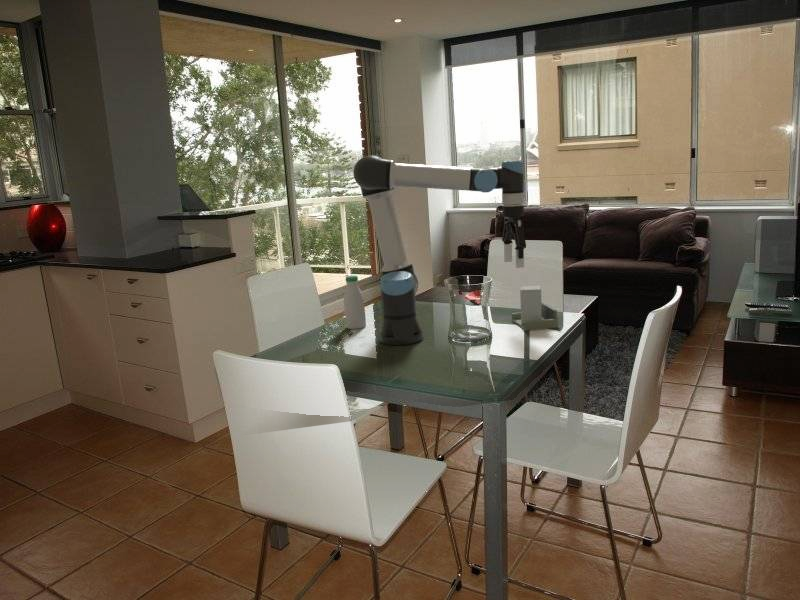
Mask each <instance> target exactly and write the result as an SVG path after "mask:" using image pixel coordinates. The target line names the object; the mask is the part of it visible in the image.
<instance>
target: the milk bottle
mask: <svg viewBox="0 0 800 600" xmlns="http://www.w3.org/2000/svg"><path fill="white" fill-rule="evenodd" d="M358 279H359V277H358V276H357V275H348V276H345V283H346V287H345V291H344V295H343V305H344V316H345V326H346V328H347V329H349V330H358V329H363V328H365V327H366V326H367V323H366V322H367V319H366V310H365V300H364V294H363V293H362V292H363V291H362V290H361V289H360V286H359V284H358V281H359V280H358Z"/></svg>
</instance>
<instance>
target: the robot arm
mask: <svg viewBox="0 0 800 600" xmlns="http://www.w3.org/2000/svg"><path fill="white" fill-rule="evenodd" d="M352 173H353V179H354V181H355V183H357V185H358V186H359V187H360V191H361V195H362V198H363V199H365V200H367V203H368V206H369V210H370V213H371V218H372V222H373V226H374V230H375V234H376V238H377V241H378V246H379V250H380V253H381V254H380V255H381V258H382V262H383V266H382V268H381V271H380V272H381V275H382V276H381V278H380V284H379V287H380V292H381V304H382V305H381V306H382V315H383V317H382V318H383V319H382V320H383V321H382V325H381V329H380V332H379V333H380V334H379V339H380V343H381V344H384V345H387V346H388V345H390V346H405V345H410V344H415V343H419V342H421V341H422V340H423V339H424V333H423V330H422V327H421V324H420V322H419V319H418V317H417V307H416V306H417V305H416V294H417V292H418V288H419V281H418V280H419V279H418V278H417V275H416V274H415V269H414V266H413V262H411V261H410V260H409V259H408V258H407V255H406V254H407V253H406V250H405V247H404V242H403V238H402V233H401V230H400V226H399V221H398V218H397V213H396V209H395V206H394V202H393V201H394V199H393V196H392V194H393V193H394V191H395V187H401V188H403V187H405V188H418V189H434V190H437V189H439V190H454V191H467V192H468V191H470V192H481V193H490V192H492V191H494V190H501V192H502V193H501V204H502V205H503V206H502V217H504V219H503V221H504V223H503V229H502V230H503V231H502V239H501V240H502V241H501V242H503V245H504V247H503V248H504V249H503V250H504V251H503V252H504V253H503V255H504V256H503V257H504V263H511V262H513V243H514V242H515V247H514V250H515V268H516V269H519V268H522V269H523V268H525V249H526V248H527V243H526V242H527V241H526V236H525V230H524V221H523V220H521V219H520V217H524V216H525V206H524V205H523V204H524V202H525V201H524V199H525V197H526V195H525V194H524V192H525V191H524V190H525V187H524V185H525V183H524V182H525V179H524V178H525V177H524V175H525V173H524V162H523V161H521V160H517V159H516V160H503V161H502V162H501V165H500V166H498V167H497V166H496V167H465V166H464V167H463V166H462V167H461V166H446V165H445V166H444V165H431V164H430V165H429V164H428V165H427V164H426V165H425V164H412V163H411V164H410V163H398V162H397V163H396V162H395V161H394V160H393V159H385V158H384V157H382V156H380V155H377V154H373V155H372V154H371V155H365V156H362V157H361V158H359V159H358V160H357V162H356V163H355V164H354V166H353V172H352ZM513 238H514V242H513Z"/></svg>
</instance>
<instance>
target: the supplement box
mask: <svg viewBox="0 0 800 600" xmlns="http://www.w3.org/2000/svg"><path fill="white" fill-rule="evenodd" d="M519 293H520V312H521V324H524V322H530V321H538V320H542V305H541V303H542V286H541V285H524V286H520V290H519Z"/></svg>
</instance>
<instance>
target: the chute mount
mask: <svg viewBox="0 0 800 600" xmlns="http://www.w3.org/2000/svg"><path fill="white" fill-rule="evenodd" d="M541 305H542V320H538V321H530V322H524V324H521V311H519V312H512V313H511V321H512V323H514V324H515V325H516V326H518V327H520V328H521V329H522V330H524V331H525V332H529V331H538V330H545V329H554V328H555V329H556V328H559V318H558V317H557V316H558V311H557V309H556V308H553V307H551V306H550V305H548V304H547V303H545V302H541Z"/></svg>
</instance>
